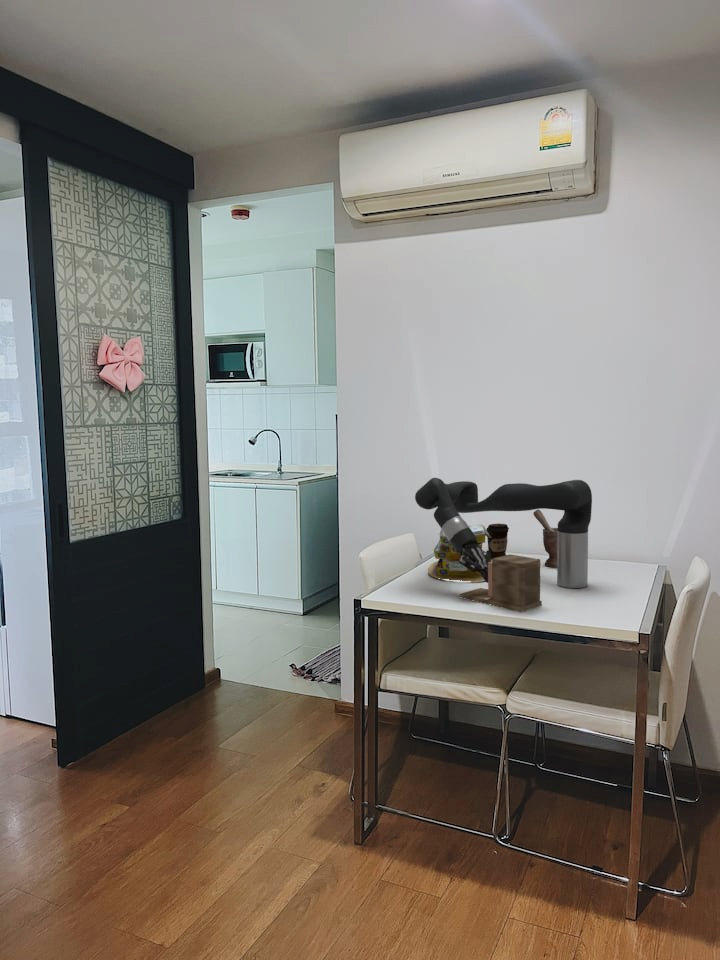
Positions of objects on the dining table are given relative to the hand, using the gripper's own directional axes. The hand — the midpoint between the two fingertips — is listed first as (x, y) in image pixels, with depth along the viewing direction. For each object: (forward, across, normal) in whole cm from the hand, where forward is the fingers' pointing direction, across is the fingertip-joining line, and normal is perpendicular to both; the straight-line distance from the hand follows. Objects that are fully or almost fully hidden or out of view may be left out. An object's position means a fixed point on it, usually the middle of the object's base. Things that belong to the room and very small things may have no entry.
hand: (491, 580), depth 214 cm
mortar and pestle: (-5, -51, -14) cm, 53 cm away
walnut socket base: (+5, 0, -3) cm, 6 cm away
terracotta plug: (+5, 0, -1) cm, 5 cm away
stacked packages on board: (-15, -20, -23) cm, 34 cm away
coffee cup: (-20, -47, -28) cm, 58 cm away
